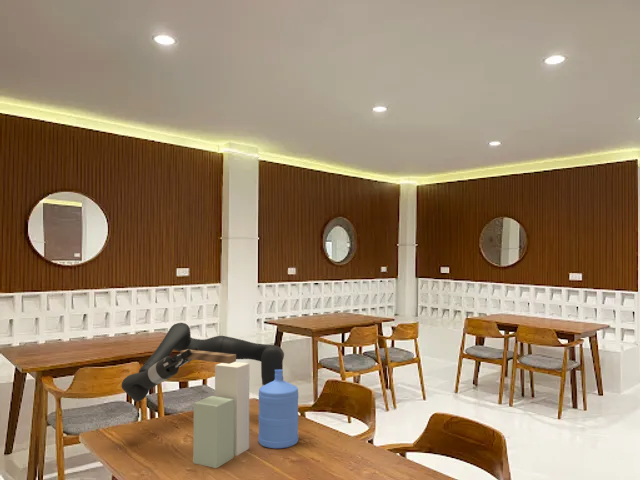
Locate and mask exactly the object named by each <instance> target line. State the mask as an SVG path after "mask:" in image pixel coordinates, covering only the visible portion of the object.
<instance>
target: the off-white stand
mask: <svg viewBox="0 0 640 480" xmlns="http://www.w3.org/2000/svg"><path fill="white" fill-rule="evenodd" d="M214 396H215V397H222V398H229V399H234V449H233V456H234V457H235V456H236V457H238V456H240V455H241V454H242V453H244V452H246V451H247V450H249V449H250V363H249V362H242V361H240V362H239V361H236V362H233V363H230V364H227V363H217V364H214Z"/></svg>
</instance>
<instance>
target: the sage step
mask: <svg viewBox="0 0 640 480" xmlns="http://www.w3.org/2000/svg"><path fill="white" fill-rule="evenodd" d="M192 437H193V442H192V443H193V447H192V448H193V451H192V452H193V453H192V455H193V457H192V463H193V464H196V465H200V466H205V467H209V468H214V469H217V468H219V467H221V466H223V465H224V464H226V463H228V462H229V461H231V460H232V459H234V455H233V449H234V399H229V398H222V397H215V395H210V396H208V397H205V398H203V399H201V400H198V401H196V402H193V436H192Z"/></svg>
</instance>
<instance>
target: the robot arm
mask: <svg viewBox="0 0 640 480" xmlns="http://www.w3.org/2000/svg"><path fill="white" fill-rule="evenodd" d="M187 349H189V350H187ZM173 350H174V351H178V352H180V351H182V350H187V351H185V352H183V353H181V354H180V353H179V354H176V355H173V356H171V354H172V352H173ZM190 350H199V351H208V352H218V353H227V354H236V360H254V361H257V362H260V364H261V366H260V367H261V368H260V372H261V373H260V374H261V387H262V386H264V385H266V384H268V383H270V382H272V381H274V380H275V370H276V369H282V370H283V365H284V364H283V360H284V359H285V358H284V357H285V353H284V350H283V349H282V348H281V347H280V346H278V345H276V344H265V343H264V344H263V343H255V342H252V341H251V342H250V341H247V340H243V339H240V338H235V337H231V336H227V335H226V336H225V335H217V336H212V337H210V338H206V339H200V338H198V339H197V338H193V337H191V329H190V326H189V325H188V324H186V323H185V322H177V323H174V324H173V325H171V326H170V328H169V329H168V331H167V332H166V335H165V336H164V338H162V341H161V342H160V344H159V345H158V347H157V348H156V349H155V351H154V352H153V353H152V355H151V356H150V357H149V358H148V359H147V360H146V361H145V362H144V364H143V365H142V366H141V367H140V368H139V369H138V370H139V371H138V372H136V373H132V374H129V375H127V376H126V377H124V378H123V380H122V382H121V389H122V390H123V391H124V392H125V393H126V394H127V396H129V397H130V398H131V399H132V400H133V401H135V402H141V401H142V400H144V399H145V398H146V396H147V395H148V393H149V392H150V390H151V389H153V388H154V387H156V386H157V385H159V384H161V383H164V382H166V381H168V380H169V379H170V378H173V376H175V375H177V374H178V373H179V369H180V368H181V367H182V366H184V365H185V364H187V363H191V361H192V360H193V359H186V358H187V357H189V356H190V355H192V353H191V351H190ZM282 374H283V371H282ZM282 378H283V379H284V374H283V376H282Z"/></svg>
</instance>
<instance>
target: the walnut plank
mask: <svg viewBox="0 0 640 480" xmlns="http://www.w3.org/2000/svg"><path fill="white" fill-rule="evenodd" d="M187 350H189V349H187ZM187 350H182V351H179V354H181V353H183V352H185V351H187ZM190 351H191V353H192V355H190V356H189V357H187V358H186V359H192V360H195V361H202V362H203V361H204V362H209V363H210V362H211V363H218V364H220V363H227V364H230V363H233V362H237V359H236V354H227V353H218V352H208V351H199V350H190Z"/></svg>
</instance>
